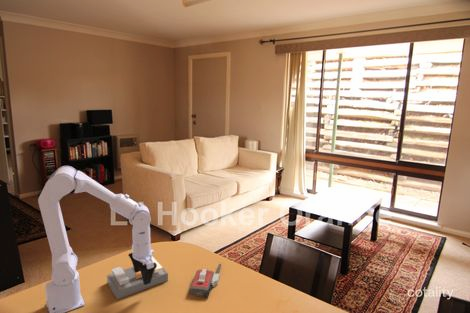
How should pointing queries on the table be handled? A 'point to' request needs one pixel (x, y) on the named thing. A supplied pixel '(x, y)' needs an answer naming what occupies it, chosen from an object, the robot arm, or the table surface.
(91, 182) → the robot arm
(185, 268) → the table surface
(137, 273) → the orange rectangular block
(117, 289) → the panel
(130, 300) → the table surface
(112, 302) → the table surface
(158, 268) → the cream bar
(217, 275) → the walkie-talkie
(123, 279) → the grey bar
